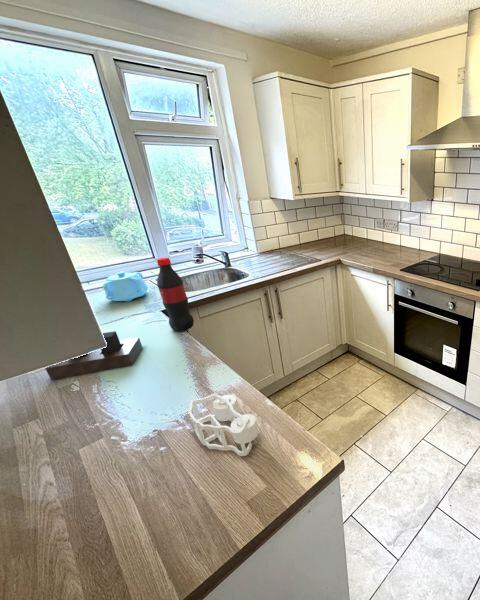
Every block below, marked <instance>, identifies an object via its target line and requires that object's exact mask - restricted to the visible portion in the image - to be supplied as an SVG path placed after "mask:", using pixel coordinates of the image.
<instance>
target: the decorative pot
mask: <svg viewBox="0 0 480 600" xmlns="http://www.w3.org/2000/svg"><path fill="white" fill-rule="evenodd" d="M102 289H103V290H104V293H105V299H107V300H109V301H110V300H111V301H115V302H126V303H127V302H131V301H133V300H134V299H136V298H137V299H138V298H141V297H143V296H144V295H145V294H147V292H148V286H147V283H146V282H145V281H144V276H143V274H142V272H139V271H134V272H125V271H123V270H122V271H118V272H116V274H114V275H109V276H107V277H106V281H105V282H104V283H102Z"/></svg>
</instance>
